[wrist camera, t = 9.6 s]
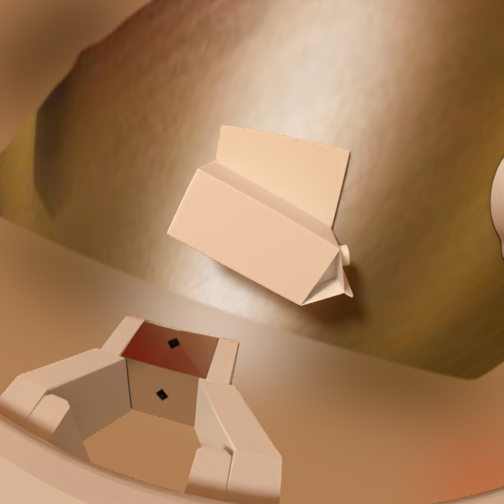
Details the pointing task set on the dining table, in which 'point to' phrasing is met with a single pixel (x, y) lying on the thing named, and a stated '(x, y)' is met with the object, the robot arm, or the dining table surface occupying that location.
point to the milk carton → (260, 236)
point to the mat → (287, 167)
